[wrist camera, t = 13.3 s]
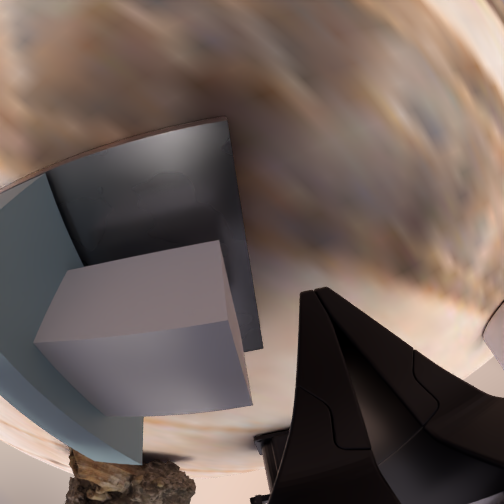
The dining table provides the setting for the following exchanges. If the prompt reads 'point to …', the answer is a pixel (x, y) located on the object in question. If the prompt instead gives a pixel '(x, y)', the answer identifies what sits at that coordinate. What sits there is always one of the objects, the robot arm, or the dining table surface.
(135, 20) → the dining table surface
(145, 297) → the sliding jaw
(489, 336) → the milk bottle
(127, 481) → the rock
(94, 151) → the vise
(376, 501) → the robot arm
